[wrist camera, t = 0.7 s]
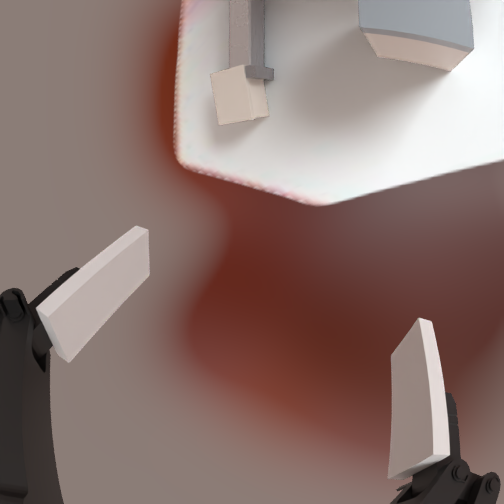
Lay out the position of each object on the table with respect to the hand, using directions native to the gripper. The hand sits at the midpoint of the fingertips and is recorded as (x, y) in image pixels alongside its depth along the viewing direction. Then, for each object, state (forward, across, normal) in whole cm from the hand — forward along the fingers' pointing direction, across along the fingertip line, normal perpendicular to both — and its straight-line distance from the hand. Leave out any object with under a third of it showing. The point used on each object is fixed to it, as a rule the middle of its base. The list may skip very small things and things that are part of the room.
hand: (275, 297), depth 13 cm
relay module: (+22, +6, +18) cm, 29 cm away
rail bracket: (+26, -12, +18) cm, 33 cm away
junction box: (+26, -10, +7) cm, 28 cm away
